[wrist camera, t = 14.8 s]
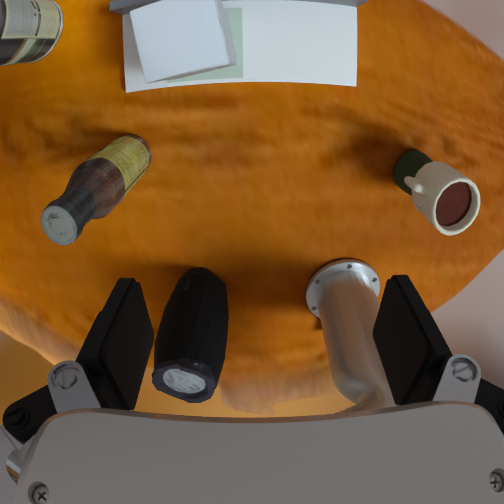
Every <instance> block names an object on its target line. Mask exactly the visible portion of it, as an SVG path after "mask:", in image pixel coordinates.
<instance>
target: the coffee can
mask: <svg viewBox="0 0 504 504" xmlns="http://www.w3.org/2000/svg"><path fill="white" fill-rule="evenodd" d="M62 28H63V12H62V10H61V8H60V6H59V5H58V4H57V3H56V2H55V1H53V0H0V66H3V65H10V64H18V63H32V62H36V61H39V60H41V59H42V58H44V57H45V56H46V55H48V54H49V53H50V52H51V50H52V49H53V48H54V47H55V45H56V43H57V42H58V40H59V38H60V35H61V32H62Z"/></svg>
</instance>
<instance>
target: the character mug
mask: <svg viewBox="0 0 504 504" xmlns="http://www.w3.org/2000/svg"><path fill="white" fill-rule="evenodd" d="M394 177H395V181H396V183H397V185H398V186H399V187H400V188H401V189H402V190H403V191H405V192H406V193H408V194H410V195H412V197H413V203H414V205H415V206H416V208H417V209H418V211H420V212H421V213H422V214H424V215H425V216H426V218H427V219H428V221H429V222H430V223H432V224H433V226H434V227H435V228H436V229H438V230H439V231H440V232H441V233H443V234H445V235H456V234H458V233H460V232H462V231H464V230H465V229H466V228H467V227H469V226H470V225H471V224H472V222H473V221H474V219H475V218H476V216H477V214H478V211H479V207H480V193H479V191H478V188H477V186H476V185H475V184H474V183H473V182H472V181H471V180H470V179H468V178H467V177H466V176H464V175H463V174H461V173H460V172H458V171H457V170H455V169H454V168H452V167H450V166H449V165H447V164H446V163H443V162H437V161H432V160H431V159H430V158H429V157H428V156H427V155H425V154H424V153H422V152H420V151H417V150H414V151H408V152H407V153H405V154H404V155H403V156H401V157H400V159H399V161H398V162H397V164H396V166H395V170H394Z"/></svg>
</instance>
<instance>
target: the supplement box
mask: <svg viewBox="0 0 504 504" xmlns="http://www.w3.org/2000/svg"><path fill="white" fill-rule="evenodd" d="M130 17H131V22H132V27H133V32H134V37H135V41H136V46H137V50H138V54H139V59H140V63H141V67H142V71H143V75H144V79H145V83H146V84H148V83H154V82H159V81H165V80H173V79H180V78H183V77H187V76H191V75H196V74H200V73H204V72H208V71H213V70H217V69H222V68H226V67H231V66H235V65H237V64H238V63H237V57H236V52H235V46H234V41H233V37H232V32H231V28H230V24H229V20H228V16H227V12H226V10H225V8H224V6H223V4H222V2H221V0H161V1H158V2H155V3H152V4H149V5H146V6H143V7H140V8H137V9H134V10H132V11H130Z"/></svg>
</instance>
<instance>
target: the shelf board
mask: <svg viewBox="0 0 504 504" xmlns="http://www.w3.org/2000/svg"><path fill="white" fill-rule="evenodd" d="M221 2H222V4H223V6H224V8H225V10H226V12H227V16H228V20H229V24H230V28H231V32H232V37H233V41H234V46H235V52H236V57H237V63H238V64H237V65H235V66H231V67H226V68H222V69H217V70H213V71H208V72H204V73H200V74H196V75H191V76H187V77H183V78H180V79H173V80H165V81H159V82H154V83H148V84H146V83H145V79H144V75H143V71H142V67H141V63H140V59H139V54H138V50H137V46H136V41H135V37H134V32H133V27H132V22H131V17H130V14H125V15H123V51H124V70H125V84H126V93H127V92H134V91H140V90H147V89H155V88H163V87H172V86H182V85H194V84H207V83H225V82H303V83H321V84H335V85H346V86H356V75H357V7H352V6H345V5H338V4H329V3H320V2H308V1H292V0H229V1H221Z"/></svg>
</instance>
